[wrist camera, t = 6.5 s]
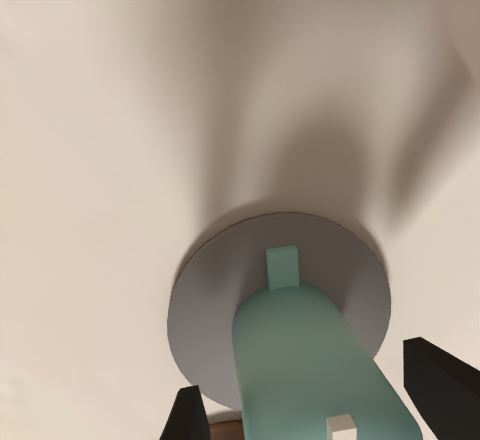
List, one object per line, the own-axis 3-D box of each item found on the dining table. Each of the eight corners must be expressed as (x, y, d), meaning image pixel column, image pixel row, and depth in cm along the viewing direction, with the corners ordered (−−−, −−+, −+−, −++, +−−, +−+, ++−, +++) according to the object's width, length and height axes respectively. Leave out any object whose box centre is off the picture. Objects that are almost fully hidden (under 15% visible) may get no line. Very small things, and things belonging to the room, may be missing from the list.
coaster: (380, 192, 14) (388, 195, 13) (386, 379, 17) (393, 388, 16) (142, 237, 13) (140, 243, 13) (194, 422, 16) (194, 433, 16)
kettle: (338, 364, 15) (426, 525, 9) (237, 381, 15) (260, 559, 9) (336, 238, 13) (447, 338, 7) (220, 254, 13) (235, 372, 7)
